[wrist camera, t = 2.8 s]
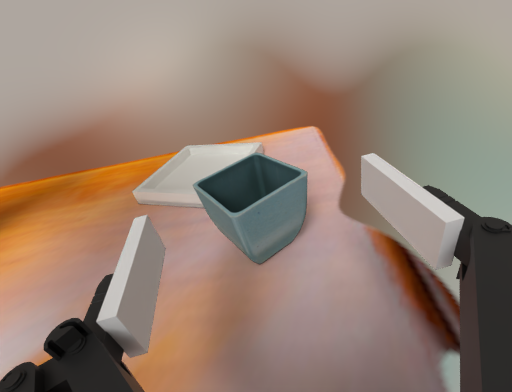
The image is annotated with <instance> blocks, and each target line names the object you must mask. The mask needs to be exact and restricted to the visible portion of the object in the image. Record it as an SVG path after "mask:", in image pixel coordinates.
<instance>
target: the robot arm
mask: <svg viewBox="0 0 512 392" xmlns="http://www.w3.org/2000/svg"><path fill="white" fill-rule="evenodd" d="M361 194H362V195H363V196H364V197H365V198H366V199H367V200H368V202H369V203H370V204H371V205H372V206H373V207H374V208H375V209H376V210H377V211H378V212H379V213H380V214H381V215H382V216H383V217H384V218H385V219H386V220H387V221H388V222H389V223H390V224H391V225H392V226H393V227H394V228H395V229H396V230H397V231H398V232H399V233H400V234H401V235H402V236H403V237H404V238H405V240H407V241H408V243H409V244H410V245H411V246H412V247H413V248H414V249H415V250H416V251H417V252H418V253H419V254H420V255H421V256H422V257H423V258H424V259H425V260H426V261H427V262H428V263H429V264H430V265H431V266H432V267H433V268H434V269H435V270H437V269H440V268H444V267H447V266H451V265H452V261H453V258H454V256H455V257H456V258H457V259H459V260H460V261H461V264H460V268H459V271H458V274H457V277H456V279H460V392H512V225H510V224H509V223H508V222H506V221H503V220H501V219H498V218H493V217H480V216H479V215H477V214H476V213H474V212H473V211H471V210H470V209H468V208H467V207H465V206H464V205H462V204H460V203H459V202H458V201H455V199H453V198H452V197H450V196H448V195H447V194H446V193H444V192H443V191H441V190H440V189H437V188H434V187H431V186H429V185H428V186H424V187H421V186H419V185H418V184H417V183H415V182H414V181H412V180H411V179H410V178H408V177H407V176H405V175H404V174H403V173H401V172H400V171H398V170H397V169H395V168H394V167H393V166H391V165H390V164H388V163H387V162H386V161H384V160H383V159H381V158H380V157H378V156H377V155H376V154H374V153H371V154H368V155H364V156H362V157H361ZM165 249H166V248H165V246H164V244H163V242H162V241H161V239H160V237H159V235H158V233H157V231H156V230H155V228H154V226H153V224H152V222H151V221H150V219H149V217H148V215H144V216H140V217H137V218H134V221H133V223H132V226H131V229H130V232H129V234H128V237H127V240H126V242H125V245H124V248H123V250H122V253H121V256H120V259H119V261H118V264H117V267H116V269H115V272H114V273H113V274H110V275H106V276H105V277H104V279H103V280H102V281H101V282H100V284H99V285H98V287H97V290H96V292H95V294H94V295H95V296H94V297H93V299H92V302H91V303H92V304H90V307H89V309H88V311H87V314H86V316H85V319H84V321H83V322H82V321H81V320H80V319H78V318H71V319H69V320H66V321H64V322H63V323H61V324H60V325H58V326H57V327H56V328H55V329H54V330H53V331H52V332H51V333H50V334H49V336H48V337H47V338H46V341H45V343H44V351H46V352H47V353H48V354H49V355H51V356H52V357H53V358H52V359H50V360H48V361H47V362H45V363H43V364H41V365H40V366H36V365H35V364H33V363H31V362H26V363H22V364H20V365H18V366H16V367H15V368H14V369H12V370H11V371H10V372H8V373H7V374H6V375H5V377H4V378H3V379H2V380H1V381H0V392H144V390H143V389H142V387H141V386H140V385H139V383H138V382H137V380H136V379H135V378H134V376H133V375H132V374H131V372H130V371H129V369H128V368H127V367H126V365H125V364H124V363H123V362H122V361H121V360H122V356H123V352H125V353H126V354H127V355H128V356H129V357H130V358H131V357H134V356H138V355H141V354H145V353H147V352H148V347H149V341H150V335H151V329H152V324H153V318H154V312H155V307H156V301H157V295H158V289H159V284H160V278H161V272H162V266H163V261H164V255H165Z"/></svg>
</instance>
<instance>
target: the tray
mask: <svg viewBox="0 0 512 392" xmlns="http://www.w3.org/2000/svg"><path fill="white" fill-rule="evenodd" d="M255 152H257V153H262V154H264V152H263V147H262V142H260V143H236V144H213V145H191V146H186V147H185V148H183V149H182V150H181V151H180V152H179V153H177V154H176V155H175V156H174V157H173V158H171V159H170V160H169V161H168V162H167V163H165V164H164V165H163V166H162V167H161V168H159V169H158V170H157V171H156V172H155V173H154V174H152V175H151V176H150V177H149V178H148V179H146V180H145V181H144V182H143V183H142V184H140V185H139V186H138V187H137V188H136V189H134V190H133V191H132V193H133V194H134V196H135V198H136V200H137V202H138V204H150V205H165V206H180V207H195V208H204V206H203V204H202V202H201V200H200V199H199V197H198V195H197V193H196V191H195V189H194V188H193V184H194V183H196V182H197V181H199V180H201V179H203V178H205V177H207V176H209V175H211V174H213V173H215V172H217V171H219V170H221V169H223V168H225V167H227V166H229V165H231V164H233V163H235V162H237V161H239V160H241V159H243V158H245V157H247V156H249V155H251V154H253V153H255Z"/></svg>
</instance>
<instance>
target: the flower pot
mask: <svg viewBox="0 0 512 392" xmlns="http://www.w3.org/2000/svg"><path fill="white" fill-rule="evenodd" d="M193 188H194V189H195V191H196V193H197V195H198V197H199V199H200V200H201V202H202V204H203V206H204V208H205V209H206V211H207V213H208V215H209V216H210V218H211V220H212V221H213V222H214V224H215V225H216V226H217V227H218V229H219V230H220V231H221V232H222V233H223V234H224V235H225V236H226V237H227V238H229V239H230V240H231V241H232V242H233V243H234V244H235V245H236V246H237V247H238V248H239V249H240V250H241V251H242V252H243V253H245V254H246V255H247V256H248V257H249V258H250V259H251V260H252V261H254V262H255V263H258V264H260V263H263V262H264V261H266V260H267V259H268V258H270V257H271V256H272V255H274V254H275V253H276V252H278V251H279V250H281V249H282V248H283V247H285V246H286V245H288V244H289V243H291V242H292V241H293V240H294V238H295V237H296V235H297V234H298V232H299V231H300V229H301V227H302V224H303V222H304V218H305V215H306V204H307V172H306V171H304V170H303V169H300V168H298V167H295V166H292V165H289V164H286V163H284V162H281V161H279V160H276V159H273V158H271V157H268V156H266V155H264V154H262V153H257V152H255V153H253V154H251V155H249V156H247V157H245V158H243V159H241V160H239V161H237V162H235V163H233V164H231V165H229V166H227V167H225V168H223V169H221V170H219V171H217V172H215V173H213V174H211V175H209V176H207V177H205V178H203V179H201V180H199V181H197V182H196V183H194V184H193Z"/></svg>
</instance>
